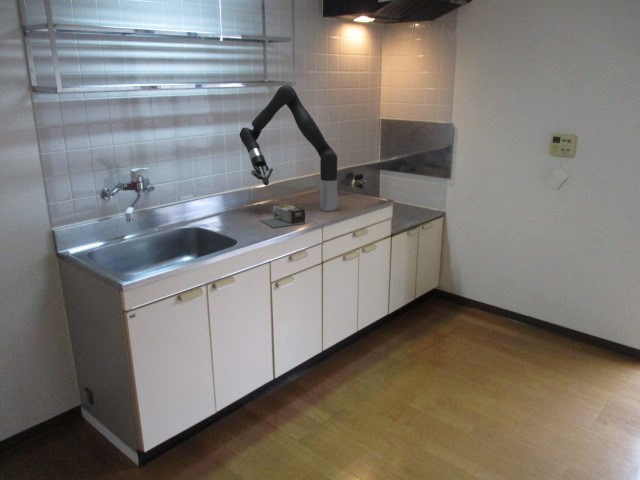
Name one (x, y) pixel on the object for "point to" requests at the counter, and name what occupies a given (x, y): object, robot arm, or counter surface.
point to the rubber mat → (279, 223)
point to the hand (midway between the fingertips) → (267, 184)
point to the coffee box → (289, 213)
